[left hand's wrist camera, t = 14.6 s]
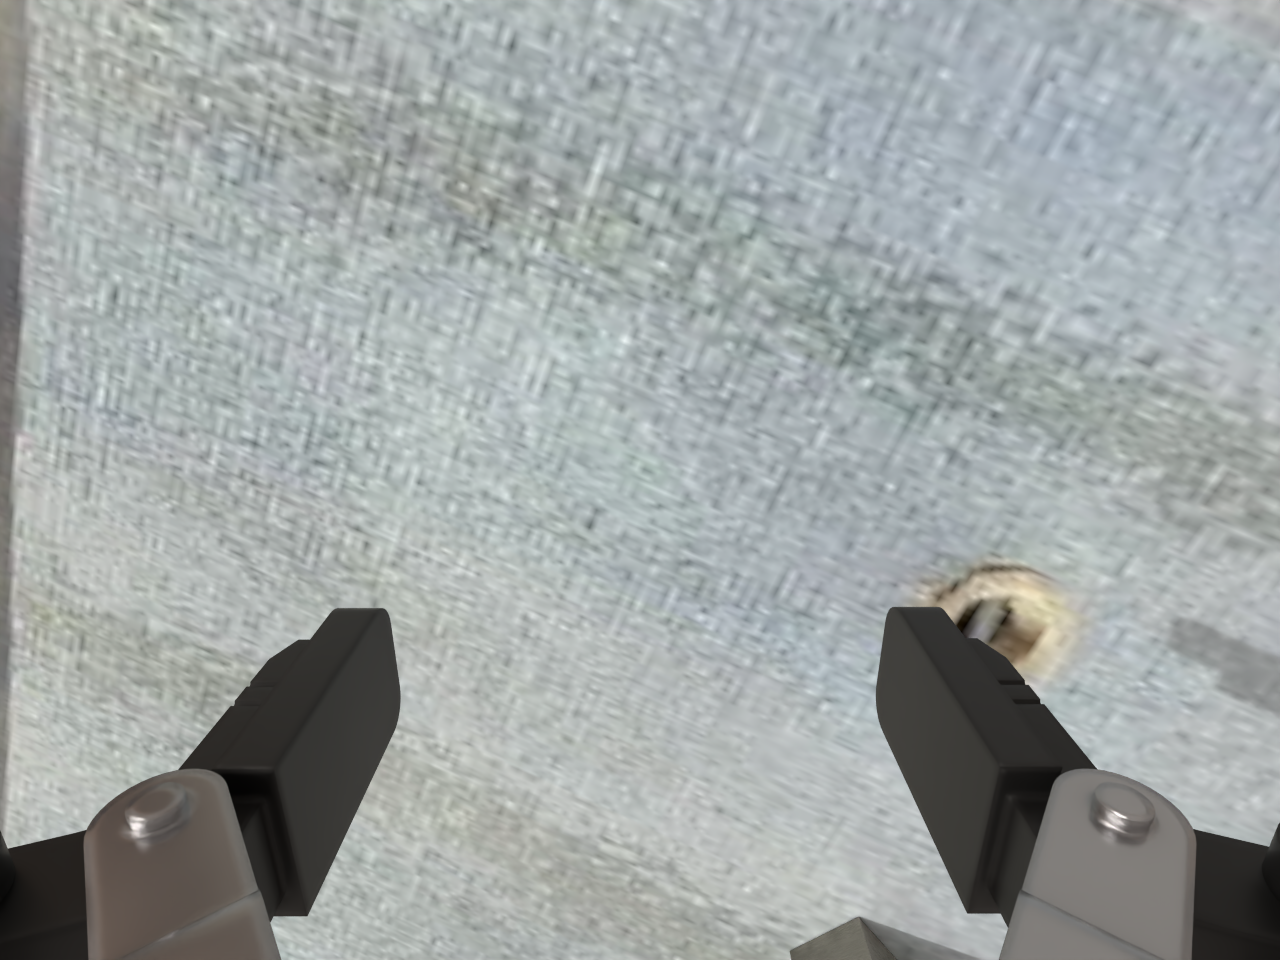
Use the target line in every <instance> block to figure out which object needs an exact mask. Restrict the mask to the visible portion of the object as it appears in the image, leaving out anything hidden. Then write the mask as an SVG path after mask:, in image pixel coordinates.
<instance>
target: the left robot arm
mask: <svg viewBox="0 0 1280 960" xmlns="http://www.w3.org/2000/svg"><path fill="white" fill-rule="evenodd" d="M250 683H251V684H250V687H246V688H245V689H244V690H243V692H242V693H241V694H240V695H239V697H238V698H237V699H236V700H235V705H234V706H230V708H229V709H228V710H227V711H226V712H225V714H224V715H223V716H222V717H221V718H220V720H219V721H218V722H217V723H216V725H215V726H214V727H213V728H212V729H211V731H210V732H209V733H208V734H207V735H206V737H205V738H204V739H203V740H202V742H201V743H200V744H199V745H198V746H197V748H196V749H195V750H194V751H193V752H192V754H191V755H190V756H189V757H188V759H187V760H186V761H185V762H184V763H183V765H182V766H181V767H180V768H179V770H176V771H172V772H168V773H164V774H161V775H158V776H155V777H152V778H150V779H147V780H145V781H143V782H140V783H139V784H137V785H135V786H133V787H131V788H129V789H128V790H126V791H124V792H123V793H121V794H120V795H118V796H117V797H116V798H114V799H113V800H112V801H110V802H109V803H108V804H107V805H106V806H105V807H104V808H103V809H101V810H100V811H99V813H98V814H97V815H96V816H95V817H94V819H93V820H92V821H91V823H90V825H89V826H88V828H87V830H85V831H81V832H77V833H73V834H69V835H65V836H61V837H56V838H52V839H48V840H43V841H39V842H35V843H31V844H26V845H22V846H18V847H13V848H9V849H8V848H7V846H6V843H5V841H4V839H3V836H2V834H1V831H0V960H281V957H280V954H279V951H278V947H277V944H276V941H275V937H274V934H273V931H272V927H271V924H270V922H271V920H272V918H273V916H308V914H309V912H310V910H311V907H312V905H313V903H314V901H315V899H316V897H317V895H318V893H319V890H320V888H321V886H322V884H323V882H324V880H325V878H326V876H327V873H328V871H329V869H330V867H331V865H332V863H333V861H334V859H335V856H336V854H337V852H338V850H339V848H340V846H341V844H342V842H343V839H344V837H345V835H346V833H347V831H348V829H349V827H350V824H351V822H352V820H353V818H354V816H355V814H356V812H357V810H358V807H359V805H360V803H361V801H362V799H363V797H364V795H365V793H366V790H367V788H368V786H369V784H370V782H371V780H372V778H373V776H374V773H375V771H376V769H377V767H378V765H379V763H380V761H381V759H382V756H383V754H384V752H385V750H386V748H387V746H388V744H389V742H390V739H391V737H392V735H393V733H394V731H395V728H396V725H397V721H398V717H399V711H400V685H399V677H398V670H397V663H396V656H395V649H394V642H393V635H392V628H391V622H390V617H389V614H388V612H387V611H386V610H385V609H383V608H337V609H334V610H333V611H332V612H331V613H330V614H329V616H328V617H327V618H326V620H325V621H324V622H323V623H322V625H321V626H320V627H319V629H318V630H317V631H316V633H315V634H314V635H313V637H312V638H311V639H310V640H297V641H296V642H294V643H293V644H291V645H290V646H288V647H287V648H285V649H284V650H282V651H281V652H279V653H278V654H276V655H275V656H273V657H272V658H270V659H269V660H268V661H267V663H266V664H265V665H264V666H263V667H262V669H261V670H260V671H259V672H258V673H257V675H256V676H255V677H254V678H253V680H252V681H251V682H250ZM876 706H877V713H878V718H879V722H880V726H881V728H882V731H883V733H884V735H885V737H886V739H887V742H888V744H889V746H890V748H891V750H892V752H893V755H894V757H895V759H896V761H897V763H898V765H899V767H900V770H901V772H902V774H903V776H904V778H905V780H906V783H907V785H908V787H909V789H910V791H911V793H912V795H913V798H914V800H915V802H916V804H917V806H918V808H919V811H920V813H921V815H922V817H923V819H924V821H925V823H926V826H927V828H928V830H929V832H930V834H931V836H932V839H933V841H934V843H935V845H936V847H937V849H938V851H939V854H940V856H941V858H942V860H943V862H944V864H945V867H946V869H947V871H948V873H949V875H950V877H951V879H952V882H953V884H954V886H955V888H956V890H957V892H958V895H959V897H960V899H961V901H962V903H963V905H964V907H965V910H966V912H967V913H1001V915H1002V917H1003V919H1004V921H1005V923H1006V925H1007V927H1008V931H1007V934H1006V937H1005V941H1004V944H1003V947H1002V951H1001V954H1000V957H999V960H1280V823H1279V824H1278V827H1277V829H1276V832H1275V834H1274V837H1273V839H1272V842H1271V844H1270V846H1269V847H1267V846H1263V845H1259V844H1254V843H1250V842H1246V841H1242V840H1237V839H1233V838H1229V837H1224V836H1220V835H1216V834H1212V833H1207V832H1203V831H1199V830H1195V829H1193V828H1192V826H1191V825H1190V823H1189V821H1188V820H1187V819H1186V817H1185V816H1184V815H1183V814H1182V813H1181V811H1180V810H1179V809H1177V808H1176V807H1175V806H1174V805H1173V804H1172V803H1171V802H1170V801H1168V800H1167V799H1166V798H1164V797H1163V796H1162V795H1160V794H1159V793H1157V792H1156V791H1154V790H1152V789H1151V788H1149V787H1147V786H1145V785H1143V784H1141V783H1140V782H1137V781H1135V780H1133V779H1130V778H1128V777H1125V776H1122V775H1119V774H1116V773H1112V772H1108V771H1104V770H1097V768H1096V767H1095V766H1094V765H1093V764H1092V762H1091V761H1090V760H1089V759H1088V757H1087V756H1086V755H1085V754H1084V753H1083V751H1082V750H1081V749H1080V748H1079V746H1078V745H1077V744H1076V743H1075V741H1074V740H1073V739H1072V738H1071V737H1070V735H1069V734H1068V733H1067V732H1066V730H1065V729H1064V728H1063V727H1062V726H1061V724H1060V723H1059V722H1058V721H1057V719H1056V718H1055V717H1054V716H1053V714H1052V713H1051V712H1050V711H1049V710H1048V708H1047V707H1046V706H1045V705H1044V704H1041V703H1040V699H1039V697H1038V696H1037V695H1036V694H1035V692H1034V691H1033V690H1032V689H1031V688H1030V686H1029V685H1025V680H1024V679H1023V678H1022V676H1021V675H1020V674H1019V673H1018V672H1017V670H1016V669H1015V668H1014V667H1013V665H1012V664H1011V663H1010V662H1009V661H1008V659H1007V658H1006V657H1004V656H1003V655H1001V654H1000V653H998V652H997V651H995V650H994V649H992V648H991V647H989V646H988V645H986V644H985V643H983V642H982V641H980V640H979V639H977V638H965V637H964V636H963V634H962V633H961V632H960V630H959V629H958V628H957V627H956V625H955V624H954V623H953V621H952V620H951V619H950V617H949V616H948V615H947V613H946V612H945V611H944V610H943V609H942V608H940V607H892V608H891V609H890V610H889V611H888V614H887V617H886V622H885V629H884V636H883V643H882V650H881V657H880V665H879V672H878V679H877V686H876Z"/></svg>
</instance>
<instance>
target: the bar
mask: <svg viewBox="0 0 1280 960" xmlns="http://www.w3.org/2000/svg"><path fill="white" fill-rule="evenodd" d="M790 955H791V960H897V959H896V958H895V957H894V956H893V955H892V954H891V953H890V952H889V951H888V949H887V948H886V947H885V946H884V945H883V944H882V943H881V942H880V940H879V939H878V938H877V937H876V936H875V935H874V934H873V933H872V931H871V930H870V929H869V928H868V927H867V926H866V925H865V924H864V923H863V921H862V920H861V919H860V918H859V917H857V918H855V919H853V920H851V921H849V922H847V923H845V924H843V925H841V926H839V927H837V928H835V929H833V930H831V931H829V932H827V933H825V934H823V935H821V936H819V937H817V938H815V939H813V940H811V941H809V942H807V943H805V944H803V945H801V946H799V947H797V948H795V949H793V950H791V951H790Z"/></svg>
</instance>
